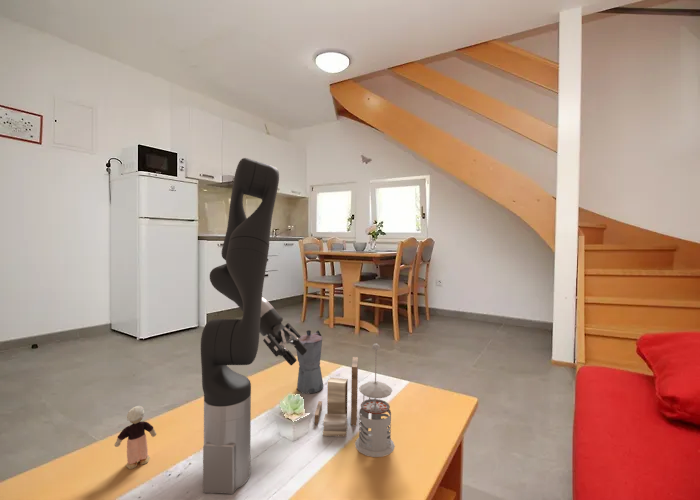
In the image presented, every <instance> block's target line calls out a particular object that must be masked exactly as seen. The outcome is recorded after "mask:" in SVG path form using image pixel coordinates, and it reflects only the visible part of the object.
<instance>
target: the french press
mask: <svg viewBox="0 0 700 500" xmlns="http://www.w3.org/2000/svg"><path fill="white" fill-rule="evenodd" d="M371 348H372V350H375V353H374V355H375V362H374V363H375V364H374V365H375V366H374V367H375V368H374V380H372V381H367V382H365V383H364V384H361V385H360V386H359V387H358V389H359V393H361V395H363V398H362V399H363V401H362V402H361V404H360V409H359V411H358V415H359V416H358V417H359V418H358V421H359V423H358V424H359V425H358V427H359V429H358V437H357V438H356V440H355V442H354V445H355V449H356V450H357V451H358V452H359V453H360V454H363V455H365V456H366V457H367V456H368V457H372V458H383V457H385V456H388V455H390V454H392V453H393V451H394V450H395V447H396V445H395V443H394V441H393V439H392V437H391V436H392V434H391V432H392V412H391V409H390V404H389V403H388V402H387V401H385V400H383V399H384V398H387V397H389V396H391V395H392V392H393V389H392V387H391V386H390V385H388V384H386V383H384V382H381V381H379V380H378V381H377V352H378V351H377V350H380V348H381V346H380V344H379V343H373V344H372V346H371ZM365 397H366V398H368V399H366V400H365ZM387 413H388V414H387ZM369 414H371V416H370V415H369ZM369 417H371V418H369ZM382 417H385V418H382ZM369 429H371V430H369Z"/></svg>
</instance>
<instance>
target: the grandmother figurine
mask: <svg viewBox="0 0 700 500" xmlns="http://www.w3.org/2000/svg"><path fill="white" fill-rule="evenodd" d="M144 417H145V409H144V407H143V406H141V405H136V406H134V407H132V408H130V409H129V410H128V412H127V414H126V421H129V422H130V425H128V426H126V427H124V428H123V429H122V431H121V432H120V433H119V434H118V436H117V437H116V438H117V439H116V442H114V447H116V448H118V447H120V446H121V443H122V441H123V440H125V439H127V440H126V459H127V463H126V468H127V469H129V470H132V469H135V468H136V467H138V462H139V464H140V465H145V464H146V465H147V464H148V462H149V461H150V459H151V456H150V455H149V449H148V440H147V434H146V432H145V431H147V432H149V434H150V436H151V437H152V438H154V437H156V435H157V432H156V430H155V428H154V426H153V425H151V423H149V422H148V421H143V418H144Z"/></svg>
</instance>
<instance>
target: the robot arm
mask: <svg viewBox="0 0 700 500" xmlns="http://www.w3.org/2000/svg"><path fill="white" fill-rule="evenodd" d="M279 182H280V172H279V169H278V168H277V167H276V166H273V165H271V164H267V163H264V162H261V161H258V160H255V159H251V158H247V157H243V158H241V159H240V160H239V161H238V163H237V166H236V169H235V173H234V177H233V182H232V183H233V184H232V189H231V195H230V201H229V202H230V203H229V211H228V221H227V227H226V232H225V237H224V240H223V242H222V243H223V244H222V248H221V253H220V254H221V258H222V259H223V260H225V263H224V264H222V265H218V266H216V267H213V268H212V270H210V272H209V281H210V283H211V285H212V287H213V288H214V289H215V290H217V292H219V293H220V294H222V295H223V296H225V297H226V298H228V299H229V300H231V301H232V302H234V303H235V304H236V305H237V307H239V309H240V310H241V311H242V318H233V319H231V318H230V319H229V318H228V319H227V318H215V319H211V320H208V321H207V323H205V325H204V327H203V330H202V332H201V337H200V363H201V387H202V392H203V447H202V492H203V493H213V494H235V492H236V490H237V489H239V488H240V487H242V486H244V485H245V484H246V483H247V481H248V480H249V478H250V477H251V430H252V429H251V428H252V427H251V426H252V425H251V423H252V422H251V420H252V417H251V415H252V414H251V411H252V409H251V408H252V406H251V405H252V404H251V403H252V382H251V380H250V379H249V378H248V377H247V376H245V375H243V374H241V373H239V372H236V371H235V370H233V369H231V368H230V367H229V366H248V365H251V364H253V362H254V361H255V359H256V358H257V354H258V349H259V342H260V335H261V336H262V337H265V338H264V339H263V343H265V345H266V346H267V348H268V349H269V350H270V352H271V353H272V354H273V355H274V356H275V357H276V358H278V357H279V356H280V357H283V359H284V360H285V361H286V362H287V364H289V365H290V366H293V365H294V364H295V363H296V362H298V359H297V358H296V357H295V356H294V355H293V354H292V352H291V351H290V350H288V347H287V344H290V345H292V346H294V348H295V349H297V350H298V352H299V353H300V354H301V355H304V354H305V353H306V352H307V349H306V348H305V347H304V345H303V344H302V343H301V342H300V337H301V336H302V335H301V334H300V333H299V332H298V331H297V330H296V329H295V328H294V327H293V326H292V325H291V324H290V323H289V322H286V324H285V325H284V324H283V323H282V322H283V320H284V318H283V316H282V315H281V314H280V313H279V312H278V311H277V309H276V308H274V306H273V305H272V304H271V303H270V302H269V301H268V299H266V298H265V297H264V296H263V291H264V281H265V276H266V275H265V274H266V271H267V270H266V269H267V264H268V263H267V262H268V258H269V249H270V241H271V240H270V239H271V231H272V230H271V229H272V219H273V212H274V208H275V203H276V199H277V194H278V188H279ZM244 195H245V196H249V197H254V198H257V199H260V200H261V203H260V204H259V205H258V206H257V208H256V209H255V210H254V211H253V213H252V214H250V215H249V216H248V217H247V215H246V212H245V210H244V202H243V201H244Z"/></svg>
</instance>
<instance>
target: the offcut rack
mask: <svg viewBox="0 0 700 500" xmlns="http://www.w3.org/2000/svg"><path fill="white" fill-rule="evenodd" d="M358 371H359V356H352V362H351V389H350V390H351V391H350V393H351V394H350V395H351V397H350V399H351V400H350V401H351V402H350V426H355V427H356V426H357V425H358V423H357V421H358V419H357V418H358V389H359V387H358V386H359V385H358V381H359V380H358V376H359V375H358ZM322 410H323V401H322V400H321V401H319V400H318V402H317V406H316V409H315V412H314V418H313V419H314V421H313V423H314V425H319V422H320V420H321V419H320V417H321V414H322Z"/></svg>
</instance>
